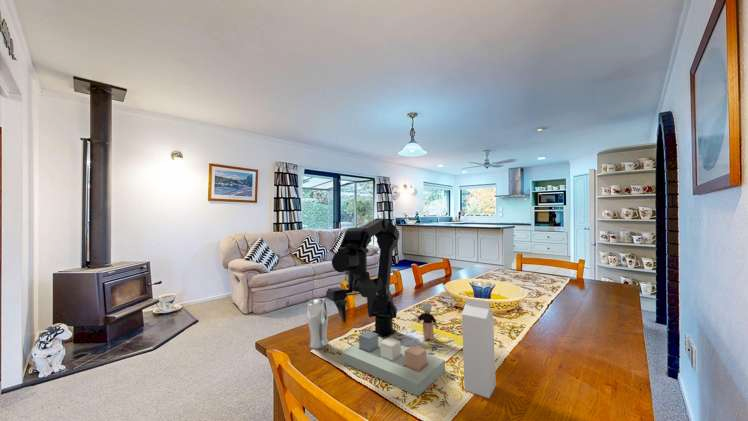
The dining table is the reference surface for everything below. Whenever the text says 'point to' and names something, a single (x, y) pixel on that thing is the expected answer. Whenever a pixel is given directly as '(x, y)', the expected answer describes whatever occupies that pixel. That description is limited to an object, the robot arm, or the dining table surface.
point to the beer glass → (318, 322)
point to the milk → (478, 347)
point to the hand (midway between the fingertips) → (357, 319)
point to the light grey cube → (390, 349)
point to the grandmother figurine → (427, 323)
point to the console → (394, 368)
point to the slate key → (368, 341)
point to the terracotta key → (415, 358)
